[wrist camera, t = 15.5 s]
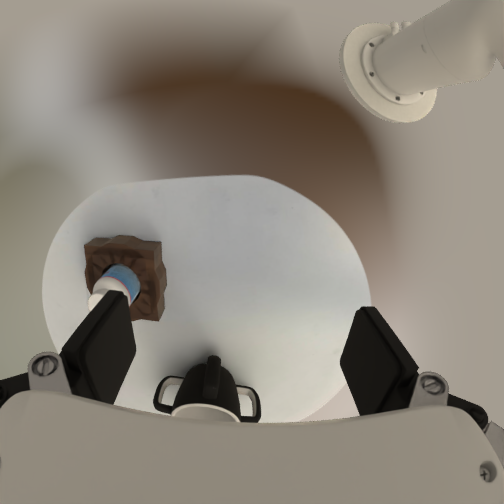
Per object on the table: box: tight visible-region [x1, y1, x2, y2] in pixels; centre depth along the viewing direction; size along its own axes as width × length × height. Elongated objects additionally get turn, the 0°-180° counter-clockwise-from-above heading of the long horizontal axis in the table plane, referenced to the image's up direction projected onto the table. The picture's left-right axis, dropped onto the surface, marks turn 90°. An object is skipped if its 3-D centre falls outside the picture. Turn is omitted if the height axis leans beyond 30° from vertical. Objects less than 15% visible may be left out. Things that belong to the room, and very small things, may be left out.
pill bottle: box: [88, 263, 141, 312], centre depth 37 cm, size 6×6×11 cm
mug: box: [153, 355, 261, 423], centre depth 45 cm, size 16×16×12 cm
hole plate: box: [84, 235, 167, 321], centre depth 40 cm, size 13×13×4 cm
